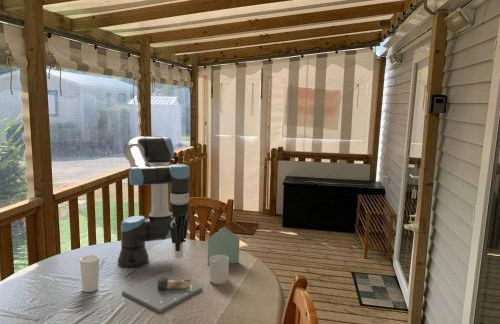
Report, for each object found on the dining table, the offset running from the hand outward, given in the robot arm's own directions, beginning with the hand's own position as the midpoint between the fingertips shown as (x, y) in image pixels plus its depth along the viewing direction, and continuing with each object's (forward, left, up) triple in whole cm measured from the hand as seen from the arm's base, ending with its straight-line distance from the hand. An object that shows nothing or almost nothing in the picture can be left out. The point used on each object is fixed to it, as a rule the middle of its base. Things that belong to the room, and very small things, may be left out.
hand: (179, 257), depth 155 cm
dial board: (-9, -1, -18) cm, 20 cm away
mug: (+2, +24, -18) cm, 30 cm away
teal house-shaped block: (-11, +42, -18) cm, 47 cm away
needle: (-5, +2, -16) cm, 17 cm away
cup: (-35, -19, -18) cm, 44 cm away
